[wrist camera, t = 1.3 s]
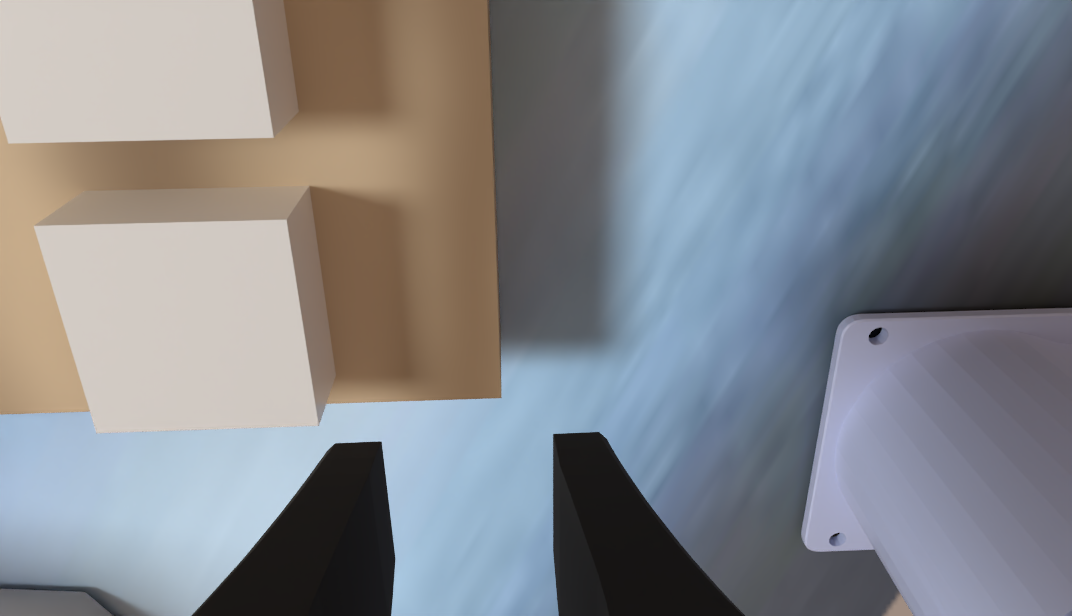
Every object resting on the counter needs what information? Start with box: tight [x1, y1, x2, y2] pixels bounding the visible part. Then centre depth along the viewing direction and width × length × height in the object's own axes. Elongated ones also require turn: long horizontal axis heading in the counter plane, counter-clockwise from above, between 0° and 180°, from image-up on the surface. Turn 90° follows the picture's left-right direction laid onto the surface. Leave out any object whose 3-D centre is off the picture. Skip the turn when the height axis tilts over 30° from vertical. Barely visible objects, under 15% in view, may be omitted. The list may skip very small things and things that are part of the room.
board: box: [0, 0, 501, 414], centre depth 17 cm, size 13×12×3 cm
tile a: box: [34, 186, 336, 433], centre depth 17 cm, size 4×4×2 cm
